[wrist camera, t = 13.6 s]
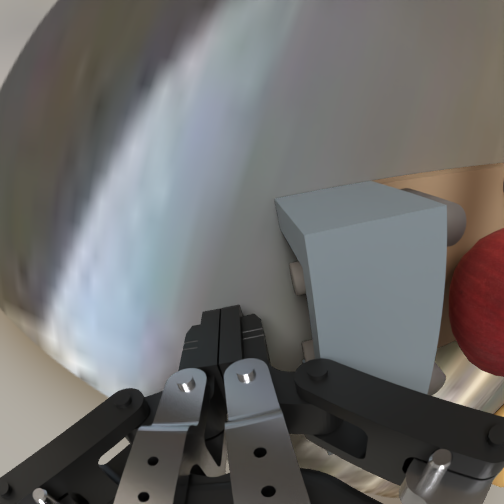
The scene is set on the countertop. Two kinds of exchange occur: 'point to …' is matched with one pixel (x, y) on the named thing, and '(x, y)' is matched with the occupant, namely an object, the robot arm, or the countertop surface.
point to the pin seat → (458, 228)
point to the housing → (371, 276)
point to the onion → (480, 303)
